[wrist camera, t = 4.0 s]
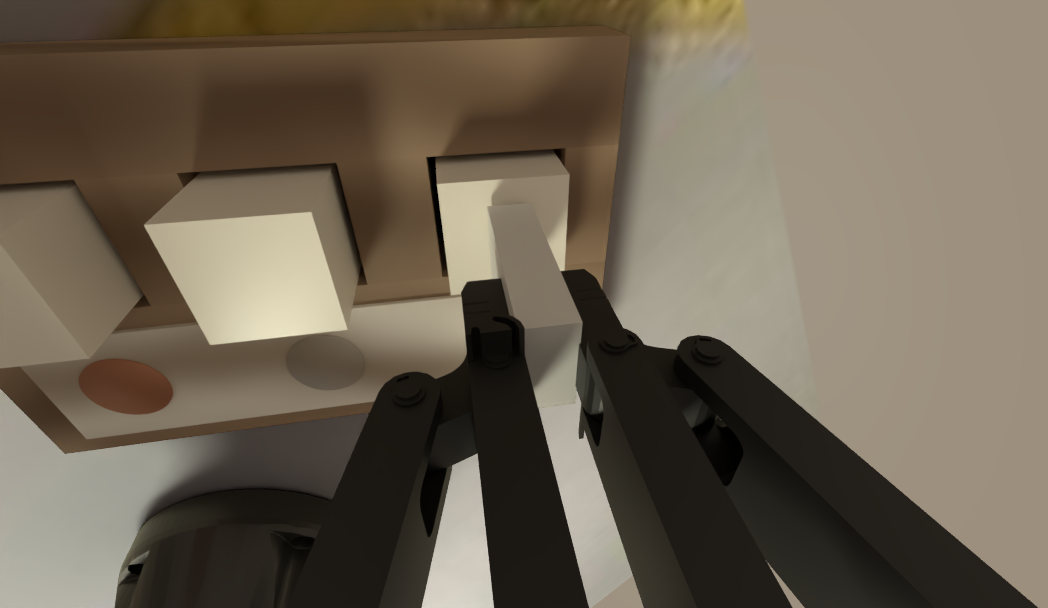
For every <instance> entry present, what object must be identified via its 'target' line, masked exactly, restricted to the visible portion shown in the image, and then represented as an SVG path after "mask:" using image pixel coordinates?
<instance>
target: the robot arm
mask: <svg viewBox="0 0 1048 608" xmlns="http://www.w3.org/2000/svg"><path fill="white" fill-rule="evenodd" d="M487 211H488V228H489V244H490V261H491V276H492V279H488V280H478V281H468V282H467V283H466V284H465V286H464V288H463V290H462V291H461V297H462V307H463V317H464V327H465V340H466V349H467V354H466V357H465V359H464V361H463V363H462V364H461V365H460V366H459V367H458V368H457V369H455V370H454V371H453V372H451V373H449V374H446V375H444V376H442V377H439V378H437V379H435V378H434V377H432V376H430V375H429V374H427V373H422V372H417V371H416V372H406V373H403V374H400V375H397V376H395V377H393V378H392V379H390V380H389V381H387V382H386V383H385V384H384V385H383V387H382V388H381V389H380V391H379V392H378V395H377V397H376V399H375V402H374V404H373V406H372V409H371V411H370V413H369V416H368V418H367V420H366V423H365V425H364V427H363V430H362V432H361V434H360V436H359V439H358V441H357V443H356V446H355V448H354V450H353V453H352V455H351V457H350V460H349V462H348V464H347V467H346V469H345V471H344V474H343V476H342V478H341V481H340V483H339V485H338V488H337V490H336V492H335V495H334V497H333V499H332V502H330V501H327V500H324V499H321V498H318V497H314V496H310V495H306V494H301V493H295V492H288V491H279V490H260V489H256V490H234V491H225V492H218V493H212V494H207V495H202V496H198V497H195V498H191V499H188V500H185V501H182V502H179V503H177V504H174V505H172V506H170V507H168V508H166V509H164V510H162V511H160V512H159V513H157V514H156V515H154V516H153V517H152V518H150V519H149V520H148V521H147V522H146V523H145V524H144V525H143V526H142V528H141V529H140V531H139V532H138V534H137V536H136V538H135V540H134V542H133V544H132V546H131V548H130V550H129V552H128V554H127V556H126V558H125V560H124V562H123V564H122V567H121V570H120V574H119V580H118V587H117V594H116V602H115V608H421V607H422V602H423V598H424V593H425V589H426V584H427V580H428V575H429V571H430V566H431V562H432V557H433V553H434V548H435V543H436V539H437V534H438V530H439V525H440V521H441V516H442V512H443V507H444V503H445V498H446V494H447V489H448V484H449V480H450V475H451V471H452V465H454V464H456V463H458V462H460V461H462V460H464V459H466V458H469V457H471V456H473V455H475V454H477V453H478V461H479V470H480V479H481V489H482V498H483V507H484V517H485V526H486V535H487V545H488V554H489V564H490V573H491V582H492V592H493V601H494V608H589V606H588V602H587V598H586V594H585V590H584V587H583V583H582V579H581V575H580V571H579V567H578V563H577V559H576V555H575V551H574V547H573V543H572V539H571V535H570V531H569V527H568V523H567V519H566V516H565V512H564V508H563V504H562V500H561V496H560V492H559V488H558V484H557V480H556V476H555V472H554V468H553V464H552V460H551V456H550V452H549V448H548V445H547V441H546V437H545V433H544V429H543V425H542V421H541V417H540V413H539V409H538V408H544V407H551V406H558V405H565V404H573V403H576V391H578V394H579V397H580V400H581V412H580V422H579V439H582V438H583V437H584V430H585V433H586V436H587V439H588V442H589V445H590V448H591V451H592V454H593V457H594V460H595V463H596V466H597V469H598V472H599V475H600V478H601V481H602V484H603V487H604V490H605V493H606V496H607V499H608V502H609V505H610V508H611V511H612V514H613V517H614V520H615V523H616V526H617V529H618V532H619V535H620V538H621V541H622V544H623V547H624V550H625V553H626V556H627V559H628V562H629V565H630V568H631V571H632V574H633V576H634V579H635V582H636V585H637V588H638V591H639V594H640V597H641V600H642V603H643V606H644V608H792V606H791V604H790V602H789V601H788V599H787V597H786V595H785V594H784V592H783V590H782V588H781V586H780V585H779V583H778V581H777V579H776V578H775V576H774V574H773V572H772V571H771V569H770V567H769V565H768V564H767V562H768V563H769V564H770V566H771V567H772V568H773V569H774V570H775V572H776V573H777V574H778V575H779V577H780V578H781V579H782V580H783V582H784V583H785V584H786V585H787V587H788V588H789V589H790V590H791V591H792V593H793V594H794V595H795V596H796V597H797V599H798V600H799V601H800V602H801V604H802V605H803V606H804V607H805V608H1038V607H1037V606H1035V605H1034V604H1033V603H1032V602H1031V601H1030V600H1028V599H1027V598H1026V597H1025V596H1023V595H1022V594H1021V593H1020V592H1019V591H1018V590H1017V589H1015V588H1014V587H1013V586H1012V585H1011V584H1009V583H1008V582H1007V581H1006V580H1005V579H1003V578H1002V577H1001V576H1000V575H999V574H997V573H996V572H995V571H994V570H993V569H992V568H991V567H989V566H988V565H987V564H986V563H985V562H983V561H982V560H981V559H980V558H979V557H978V556H976V555H975V554H974V553H973V552H972V551H971V550H969V549H968V548H967V547H966V546H965V545H963V544H962V543H961V542H960V541H959V540H958V539H956V538H955V537H954V536H953V535H951V534H950V533H949V532H948V531H947V530H946V529H944V528H943V527H942V526H941V525H940V524H939V523H937V522H936V521H935V520H934V519H933V518H931V517H930V516H929V515H928V514H927V513H926V512H924V511H923V510H922V509H921V508H920V507H919V506H917V505H916V504H915V503H914V502H913V501H911V500H910V499H909V498H908V497H907V496H905V495H904V494H903V493H902V492H901V491H900V490H899V489H897V488H896V487H895V486H894V485H892V484H891V483H890V482H889V481H888V480H887V479H886V478H884V477H883V476H882V475H881V474H880V473H878V472H877V471H876V470H875V469H874V468H873V467H871V466H870V465H869V464H868V463H867V462H865V461H864V460H863V459H862V458H861V457H860V456H858V455H857V454H856V453H855V452H854V451H852V450H851V449H850V448H849V447H848V446H847V445H845V444H844V443H843V442H842V441H841V440H840V439H838V438H837V437H836V436H835V435H834V434H832V433H831V432H830V431H829V430H828V429H827V428H825V427H824V426H823V425H822V424H820V423H819V422H818V421H817V420H816V419H815V418H814V417H812V416H811V415H810V414H809V413H808V412H806V411H805V410H804V409H803V408H802V407H801V406H799V405H798V404H797V403H796V402H795V401H794V400H792V399H791V398H790V397H789V396H788V395H786V394H785V393H784V392H783V391H782V390H781V389H779V388H778V387H777V386H776V385H775V384H773V383H772V382H771V381H770V380H769V379H768V378H766V377H765V376H764V375H763V374H762V373H760V372H759V371H758V370H757V369H756V368H755V367H753V366H752V365H751V364H750V363H749V362H747V361H746V360H745V359H744V358H743V357H742V356H740V355H739V354H738V353H737V352H736V351H735V350H733V349H732V348H731V347H730V346H728V345H727V344H725V343H724V342H722V341H721V340H718V339H715V338H712V337H709V336H700V335H696V336H690V337H687V338H685V339H684V340H682V341H681V342H680V344H679V346H678V348H677V350H674V349H665V348H657V347H651V346H647V345H644V344H643V342H642V341H641V339H640V338H639V337H638V336H637V335H636V334H635V333H633V332H631V331H629V330H628V329H624V328H623V327H622V325H621V323H620V321H619V320H618V318H617V316H616V314H615V312H614V310H613V308H612V307H611V305H610V303H609V301H608V299H606V295H605V294H604V292H603V290H602V288H601V286H600V284H599V282H598V281H597V279H596V277H595V276H593V275H592V274H591V273H589V272H588V271H586V270H585V269H577V270H567V271H560V269H559V267H558V264H557V262H556V260H555V257H554V255H553V253H552V251H551V248H550V246H549V244H548V241H547V239H546V237H545V234H544V232H543V230H542V227H541V225H540V223H539V221H538V218H537V216H536V214H535V211H534V209H533V207H532V204H531V203H523V204H510V205H498V206H487ZM766 561H767V562H766Z"/></svg>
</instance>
